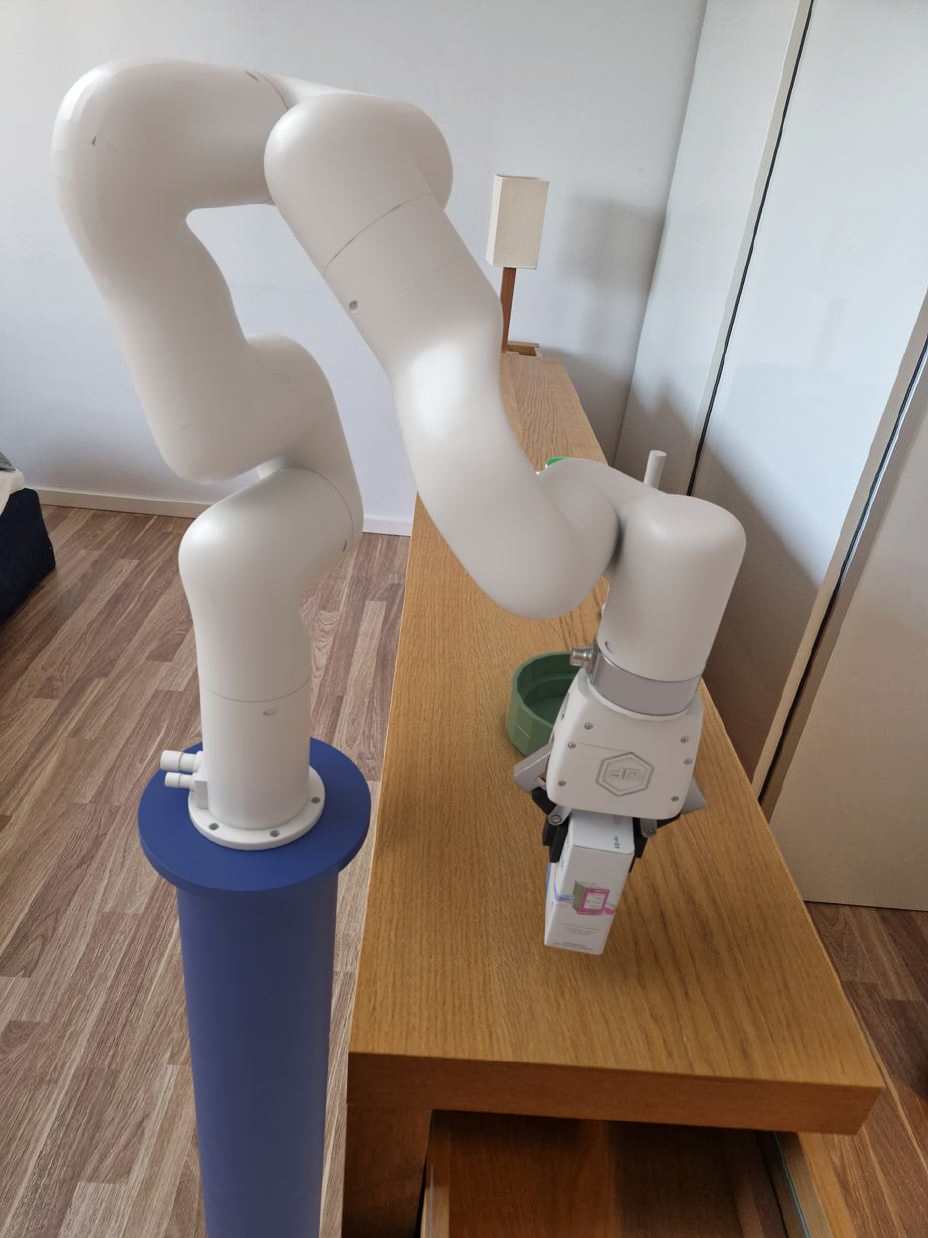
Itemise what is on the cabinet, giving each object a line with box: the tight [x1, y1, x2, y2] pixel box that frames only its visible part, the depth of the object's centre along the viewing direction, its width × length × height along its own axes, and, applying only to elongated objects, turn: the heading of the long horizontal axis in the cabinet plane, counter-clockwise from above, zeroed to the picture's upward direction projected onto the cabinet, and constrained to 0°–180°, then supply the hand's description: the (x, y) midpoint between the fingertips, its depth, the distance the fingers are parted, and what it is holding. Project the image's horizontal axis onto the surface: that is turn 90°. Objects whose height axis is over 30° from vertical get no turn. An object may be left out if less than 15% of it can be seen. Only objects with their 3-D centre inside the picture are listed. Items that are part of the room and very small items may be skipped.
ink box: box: [543, 809, 635, 956], centre depth 70 cm, size 9×5×12 cm, turn 174°
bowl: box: [505, 650, 580, 758], centre depth 98 cm, size 16×16×6 cm
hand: (588, 853), depth 70 cm, fingers closed on ink box, 5 cm apart
